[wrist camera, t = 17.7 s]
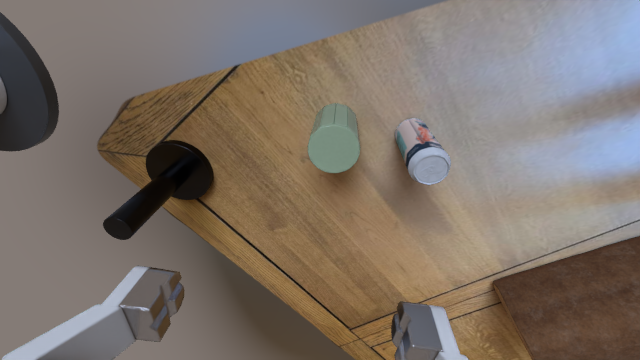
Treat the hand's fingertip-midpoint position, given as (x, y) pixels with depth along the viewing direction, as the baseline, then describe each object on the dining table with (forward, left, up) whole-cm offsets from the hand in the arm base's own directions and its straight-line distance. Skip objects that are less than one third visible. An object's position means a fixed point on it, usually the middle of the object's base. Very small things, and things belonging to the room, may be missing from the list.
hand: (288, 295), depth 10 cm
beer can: (+13, +4, -34) cm, 37 cm away
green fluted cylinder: (+4, -3, -34) cm, 34 cm away
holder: (-9, -28, -34) cm, 45 cm away
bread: (+59, +11, -34) cm, 69 cm away
